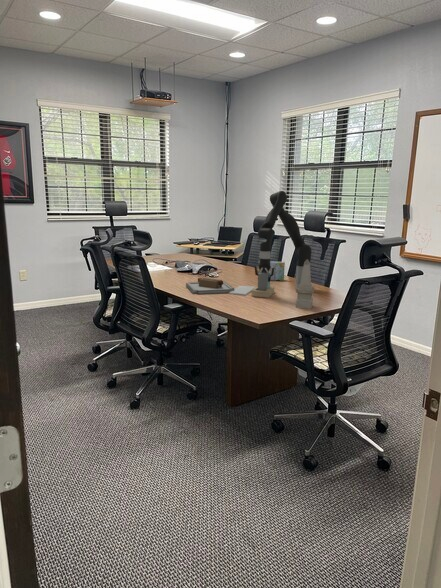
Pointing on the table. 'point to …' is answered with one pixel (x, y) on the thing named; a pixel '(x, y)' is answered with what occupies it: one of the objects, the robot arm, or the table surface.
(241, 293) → the mat
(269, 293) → the carton
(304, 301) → the miniature monument
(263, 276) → the box
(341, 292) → the table surface
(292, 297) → the table surface
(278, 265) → the snack box
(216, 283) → the gray tray
